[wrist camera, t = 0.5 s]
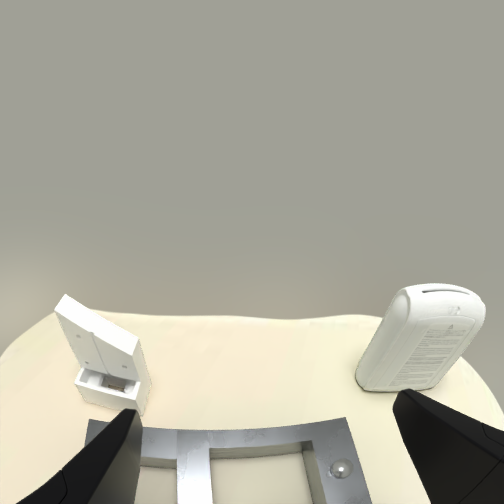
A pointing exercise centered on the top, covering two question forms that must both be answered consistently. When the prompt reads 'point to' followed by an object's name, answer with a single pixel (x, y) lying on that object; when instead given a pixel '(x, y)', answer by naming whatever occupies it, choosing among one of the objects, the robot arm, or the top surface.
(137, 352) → the white angled block
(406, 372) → the photo printer
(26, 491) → the top surface
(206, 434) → the metal cover plate
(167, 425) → the top surface
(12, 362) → the top surface
